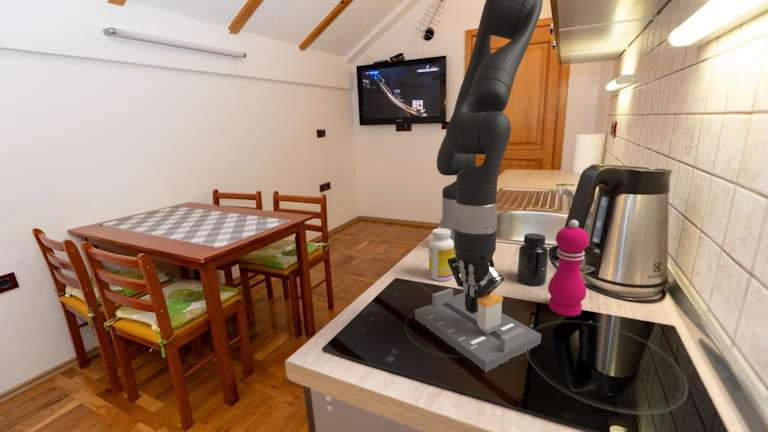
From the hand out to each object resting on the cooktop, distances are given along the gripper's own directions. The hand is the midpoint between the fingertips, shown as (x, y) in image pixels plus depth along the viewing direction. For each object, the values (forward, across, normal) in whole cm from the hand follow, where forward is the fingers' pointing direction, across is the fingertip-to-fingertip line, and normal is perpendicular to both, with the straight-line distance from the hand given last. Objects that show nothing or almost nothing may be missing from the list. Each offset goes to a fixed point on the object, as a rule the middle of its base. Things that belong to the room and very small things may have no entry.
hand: (472, 311), depth 69 cm
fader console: (+4, 0, 0) cm, 4 cm away
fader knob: (+2, +4, 0) cm, 5 cm away
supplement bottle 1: (+4, -23, +11) cm, 26 cm away
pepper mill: (+4, +5, +22) cm, 23 cm away
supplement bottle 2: (+4, -8, +28) cm, 30 cm away
